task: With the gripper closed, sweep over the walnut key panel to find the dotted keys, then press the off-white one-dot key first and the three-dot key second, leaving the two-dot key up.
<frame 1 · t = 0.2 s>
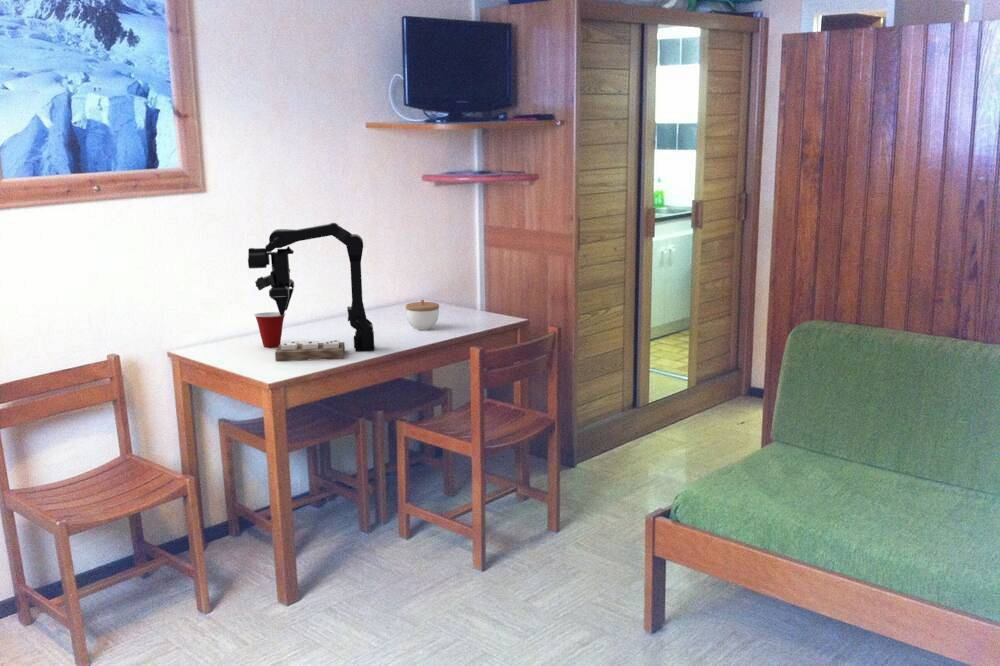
hand: (283, 312, 323), 14 cm above the table, tool pointing down, fingers open, 9 cm apart
key panel: (310, 355, 322), on the table
lidded bowl: (423, 328, 364), on the table
plastic cup: (272, 346, 337), on the table
two dot key: (289, 345, 320), point 4 cm above the table, slide at 0.0 cm
one dot key: (310, 345, 321), point 4 cm above the table, slide at 0.0 cm
three dot key: (331, 344, 322), point 4 cm above the table, slide at 0.0 cm
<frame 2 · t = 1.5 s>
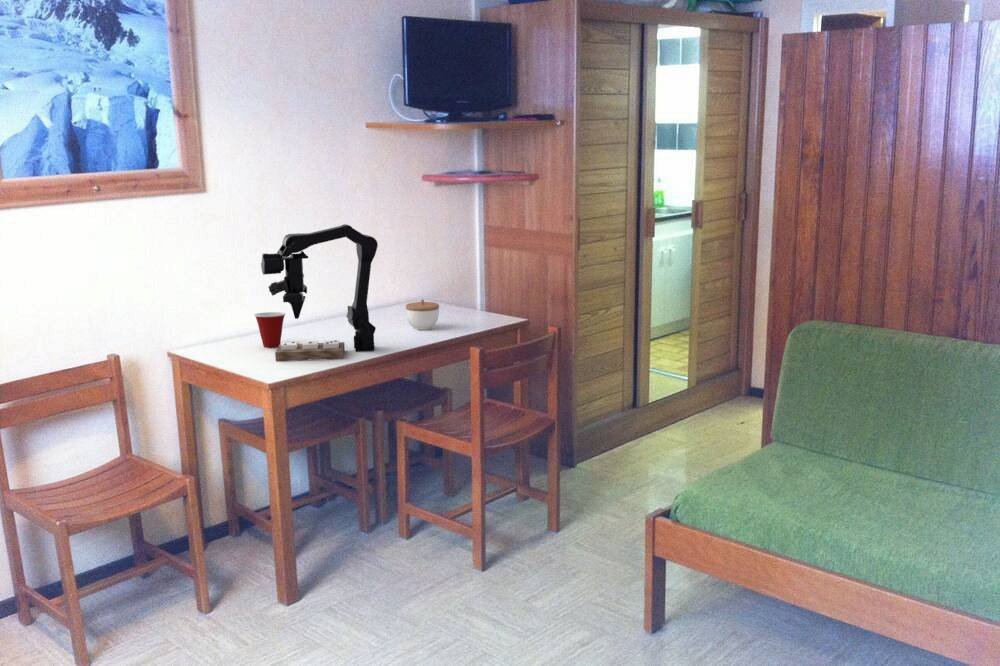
hand: (296, 318, 318), 13 cm above the table, tool pointing down, fingers closed
nothing on the table moved.
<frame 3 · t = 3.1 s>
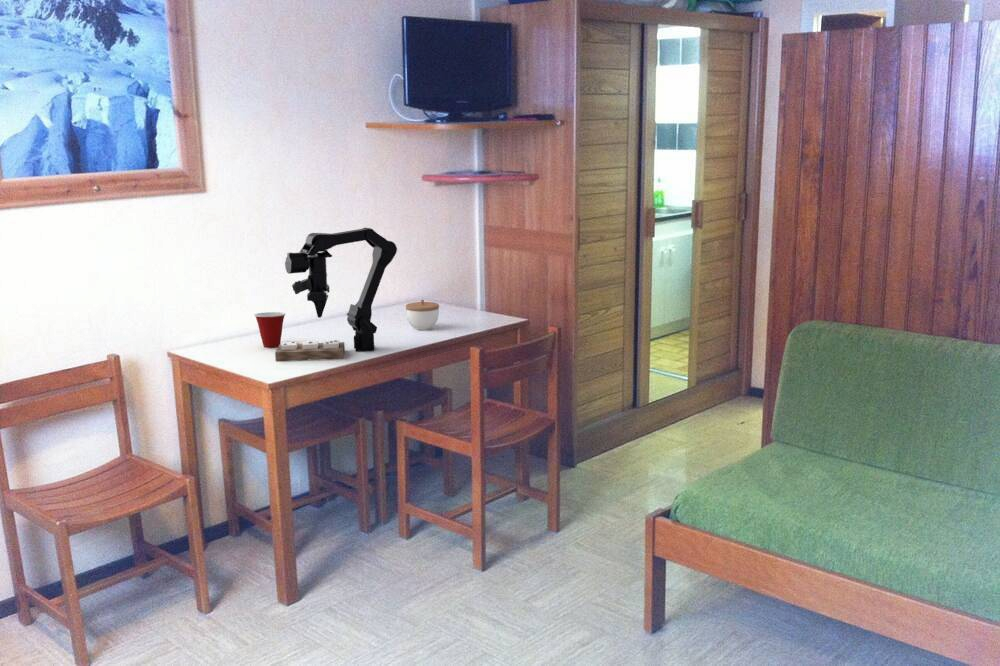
hand: (319, 317, 319), 13 cm above the table, tool pointing down, fingers closed
nothing on the table moved.
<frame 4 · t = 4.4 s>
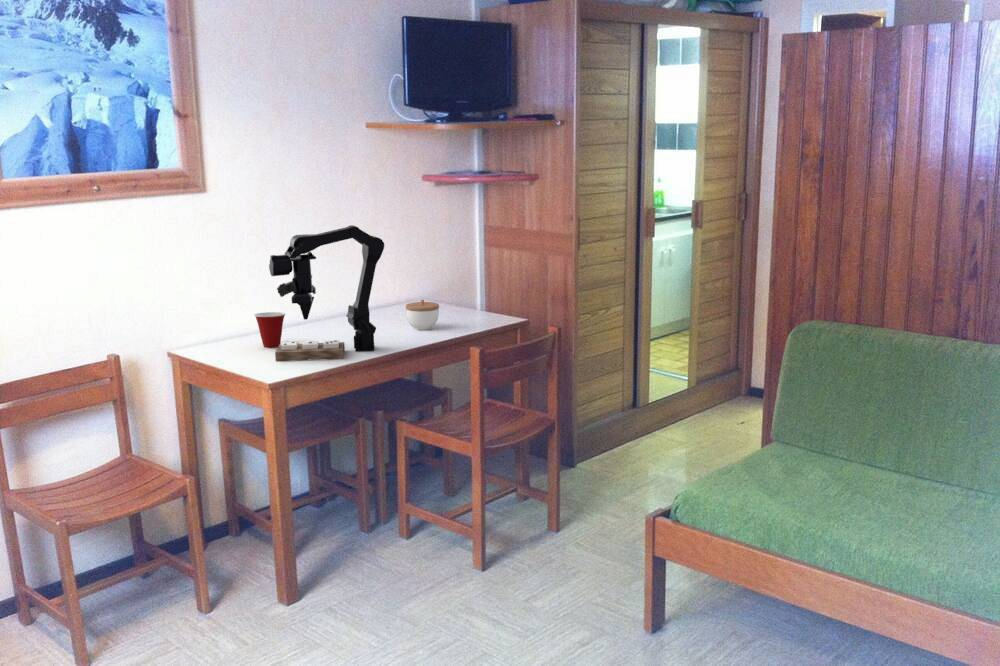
hand: (305, 319, 319), 13 cm above the table, tool pointing down, fingers closed
nothing on the table moved.
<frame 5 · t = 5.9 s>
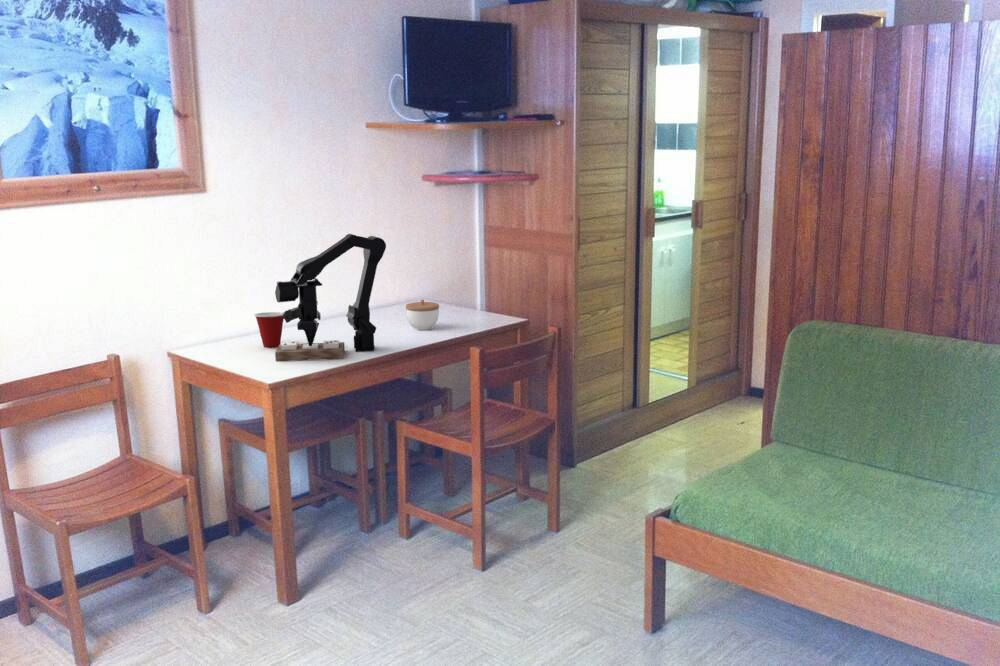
hand: (310, 345, 321), 4 cm above the table, tool pointing down, fingers closed, pressing on one dot key
one dot key: (310, 348, 321), point 3 cm above the table, slide at 1.0 cm, touching gripper
everything else where it was.
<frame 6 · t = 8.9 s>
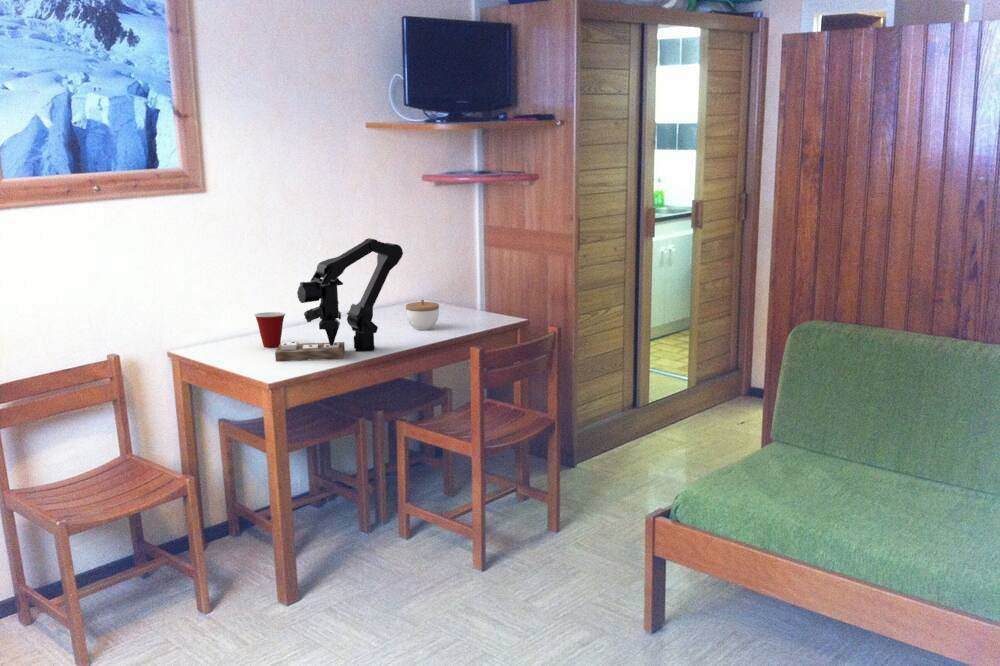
hand: (331, 344, 322), 4 cm above the table, tool pointing down, fingers closed, pressing on three dot key
one dot key: (310, 348, 321), point 3 cm above the table, slide at 1.2 cm
three dot key: (331, 347, 322), point 3 cm above the table, slide at 1.1 cm, touching gripper
everything else where it was.
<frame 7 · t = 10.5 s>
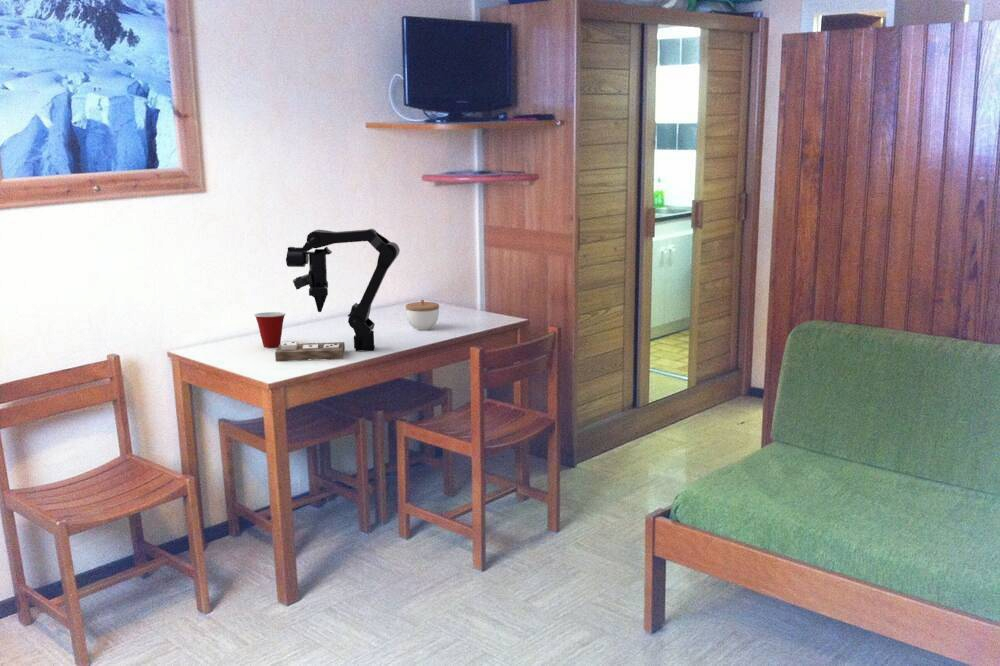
hand: (319, 311, 328), 13 cm above the table, tool pointing down, fingers closed
three dot key: (331, 347, 322), point 3 cm above the table, slide at 1.2 cm
everything else where it was.
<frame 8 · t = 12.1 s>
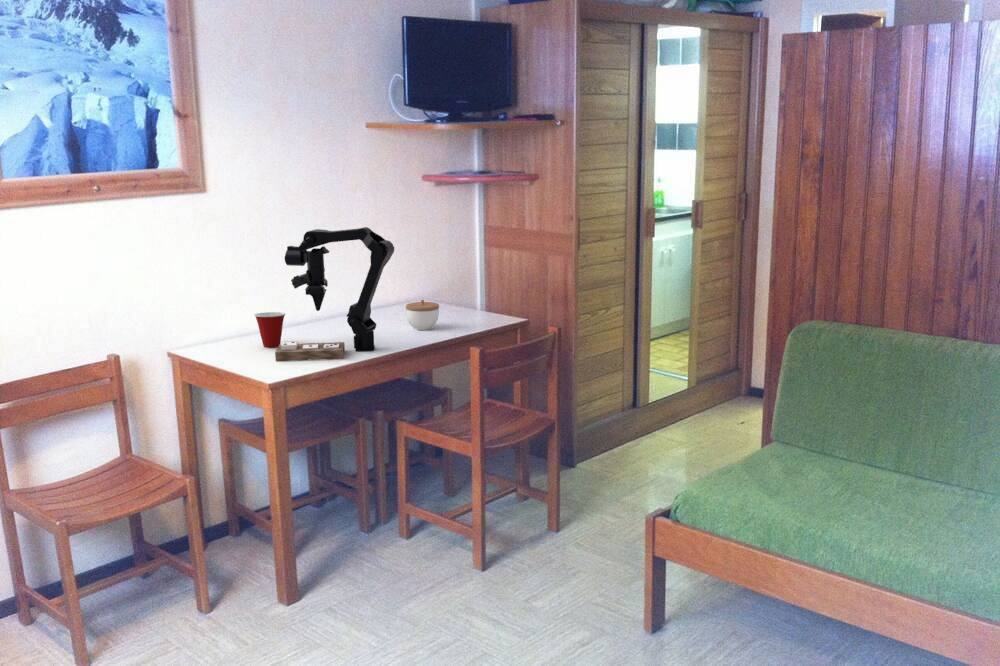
hand: (318, 310, 332), 13 cm above the table, tool pointing down, fingers closed
nothing on the table moved.
at the end: one dot key slide at 1.2 cm; three dot key slide at 1.2 cm; two dot key slide at 0.0 cm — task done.
